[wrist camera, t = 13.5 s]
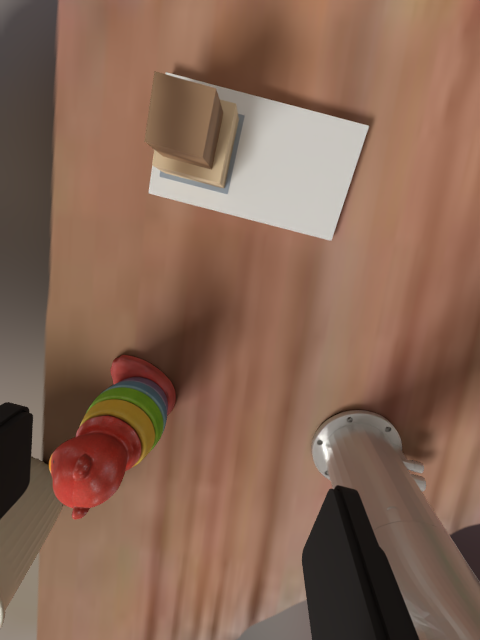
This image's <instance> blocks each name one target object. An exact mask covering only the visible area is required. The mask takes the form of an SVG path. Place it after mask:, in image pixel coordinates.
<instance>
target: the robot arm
mask: <svg viewBox="0 0 480 640" xmlns="http://www.w3.org/2000/svg"><path fill="white" fill-rule="evenodd" d="M32 423H33V415H32V414H31V413H29V409H28V407H25V406H21V405H17V404H13V403H9V402H8V403H4V404H2V405H0V519H1V518H2V517H3V516H4V515H5V514H6V513H7V512H8V511H9V510H10V508H11V507H12V506H13V505H14V504H15V503H16V502H17V501H18V500H19V498H20V497H21V496H22V495H23V494H24V493H25V491H26V490H27V488H28V486H29V483H30V469H31V445H32ZM311 447H312V456H313V460H314V463H315V465H316V467H317V469H318V470H319V471H320V473H321V474H322V475H323V476H325V477H326V478H328V479H329V480H331V484H332V487H333V489H330V490H329V491H328V493H327V495H326V498H325V500H324V502H323V505H322V507H321V509H320V512H319V514H318V516H317V519H316V521H315V523H314V526H313V528H312V530H311V533H310V535H309V537H308V540H307V542H306V544H305V547H304V549H303V554H302V566H303V573H304V581H305V589H306V596H307V604H308V611H309V619H310V626H311V633H312V640H480V582H479V580H478V579H477V577H476V576H475V574H474V573H473V571H472V570H471V568H470V567H469V565H468V564H467V562H466V561H465V559H464V558H463V556H462V554H461V553H460V551H459V550H458V548H457V547H456V545H455V543H454V542H453V540H452V539H451V537H450V536H449V534H448V532H447V531H446V529H445V528H444V526H443V525H442V523H441V521H440V520H439V518H438V517H437V515H436V513H435V512H434V510H433V509H432V507H431V505H430V504H429V502H428V501H427V499H426V498H425V496H424V494H423V493H422V491H424V490H425V488H426V481H425V479H424V478H423V477H422V476H418V475H414V474H410V472H409V471H408V470H411V471H414V472H418V473H422V472H423V471H424V466H423V464H422V463H421V462H417V461H413V460H407V458H406V457H405V456H404V454H403V452H402V442H401V438H400V436H399V434H398V432H397V430H396V429H395V427H394V426H393V425H392V424H391V423H390V422H389V421H388V420H387V419H385V418H384V417H383V416H381V415H379V414H376V413H374V412H370V411H364V410H352V411H346V412H342V413H339V414H337V415H335V416H332V417H331V418H329V419H328V420H326V421H325V422H324V423H323V424H322V425H321V426H320V427H319V428H318V430H317V431H316V433H315V435H314V437H313V440H312V445H311Z"/></svg>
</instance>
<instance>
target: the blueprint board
mask: <svg viewBox="0 0 480 640" xmlns="http://www.w3.org/2000/svg"><path fill="white" fill-rule="evenodd" d="M166 75H170V76H173V77H177V78H181V79H184V80H188V81H191V82H195V83H199V84H202V85H206V86H210V87H213V88H216V89H217V93H218V96H219V99H220V100H224V101H228V102H232V103H236V105H237V111H238V117H239V122H238V126H237V131H236V136H235V140H234V145H233V150H232V155H231V159H230V164H229V169H228V173H227V178H226V183H225V187H224V188H220V187H216V186H212V185H208V184H204V183H201V182H197V181H193V180H189V179H185V178H181V177H178V176H174V175H170V174H166V173H164V172H162V171H160V170H159V169H157V168H156V167H154V166H152V173H151V179H150V186H149V193H150V194H153V195H157V196H161V197H164V198H168V199H172V200H176V201H180V202H184V203H187V204H191V205H195V206H199V207H203V208H207V209H211V210H214V211H218V212H222V213H226V214H230V215H234V216H238V217H241V218H245V219H249V220H253V221H257V222H261V223H265V224H268V225H272V226H276V227H280V228H284V229H288V230H291V231H295V232H299V233H303V234H307V235H311V236H315V237H318V238H322V239H326V240H332V237H333V234H334V231H335V228H336V225H337V222H338V219H339V216H340V213H341V210H342V207H343V204H344V201H345V198H346V195H347V192H348V189H349V186H350V183H351V179H352V176H353V173H354V170H355V167H356V164H357V161H358V158H359V155H360V152H361V149H362V146H363V143H364V140H365V137H366V134H367V131H368V128H369V126H368V125H364V124H360V123H356V122H353V121H349V120H345V119H341V118H337V117H334V116H330V115H326V114H322V113H319V112H315V111H311V110H307V109H303V108H300V107H296V106H292V105H288V104H284V103H281V102H277V101H273V100H269V99H266V98H262V97H258V96H254V95H250V94H247V93H243V92H239V91H235V90H231V89H228V88H224V87H220V86H216V85H213V84H209V83H205V82H201V81H197V80H194V79H190V78H186V77H182V76H178V75H175V74H171V73H167V72H166Z"/></svg>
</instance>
